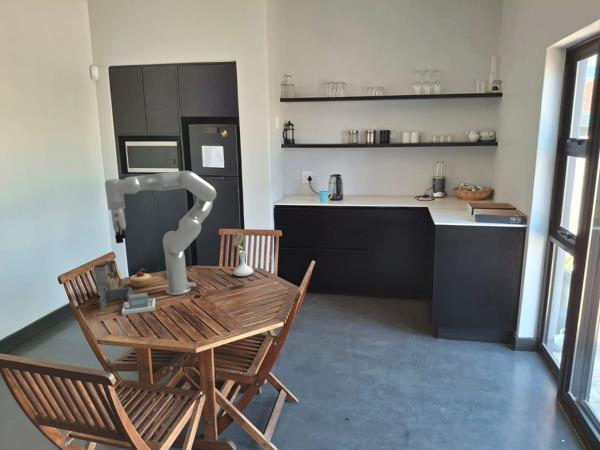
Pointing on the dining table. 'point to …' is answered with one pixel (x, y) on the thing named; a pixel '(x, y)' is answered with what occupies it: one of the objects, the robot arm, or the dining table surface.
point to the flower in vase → (242, 268)
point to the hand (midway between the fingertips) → (120, 240)
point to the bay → (114, 295)
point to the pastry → (141, 280)
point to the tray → (128, 311)
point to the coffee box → (106, 276)
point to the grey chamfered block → (138, 300)
